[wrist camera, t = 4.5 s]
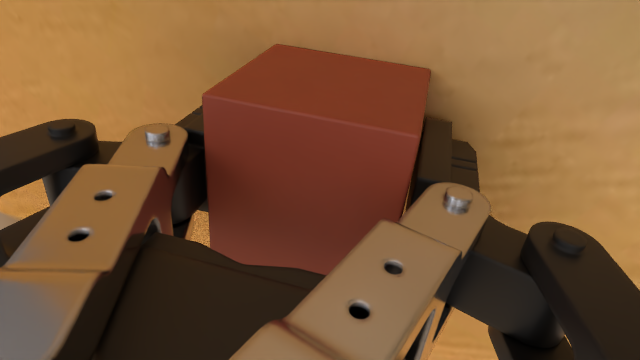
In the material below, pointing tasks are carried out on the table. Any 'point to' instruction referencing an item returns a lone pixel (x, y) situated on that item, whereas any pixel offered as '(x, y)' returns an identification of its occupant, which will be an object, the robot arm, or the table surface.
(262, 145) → the block
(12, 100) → the table surface
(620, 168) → the table surface
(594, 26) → the table surface
